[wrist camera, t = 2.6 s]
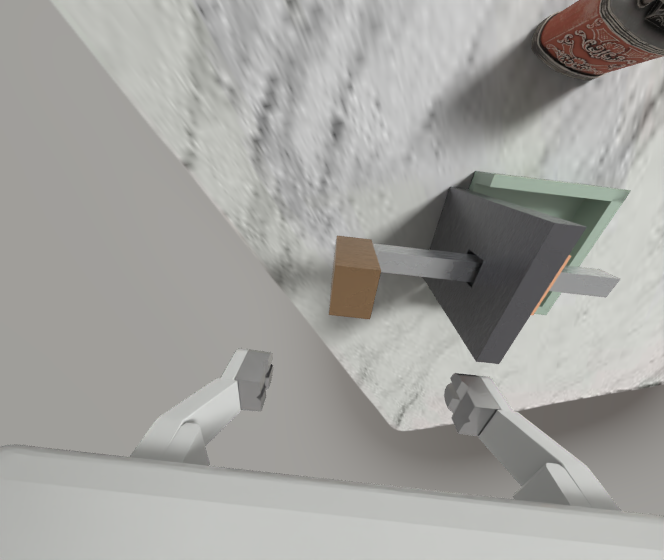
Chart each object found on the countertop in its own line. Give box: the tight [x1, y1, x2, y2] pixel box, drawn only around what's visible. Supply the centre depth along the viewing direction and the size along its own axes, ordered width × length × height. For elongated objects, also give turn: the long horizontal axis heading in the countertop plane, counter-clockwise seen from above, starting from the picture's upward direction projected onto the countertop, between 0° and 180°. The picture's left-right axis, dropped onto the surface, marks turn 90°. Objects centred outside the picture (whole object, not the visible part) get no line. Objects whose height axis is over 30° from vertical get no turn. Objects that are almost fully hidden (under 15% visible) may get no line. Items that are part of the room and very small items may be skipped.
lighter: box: [531, 0, 664, 80], centre depth 18 cm, size 8×3×10 cm, turn 70°
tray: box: [469, 171, 630, 315], centre depth 30 cm, size 14×16×4 cm
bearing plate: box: [423, 187, 587, 364], centre depth 24 cm, size 2×12×16 cm, turn 174°
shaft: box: [329, 236, 620, 319], centre depth 20 cm, size 26×4×8 cm, turn 84°
